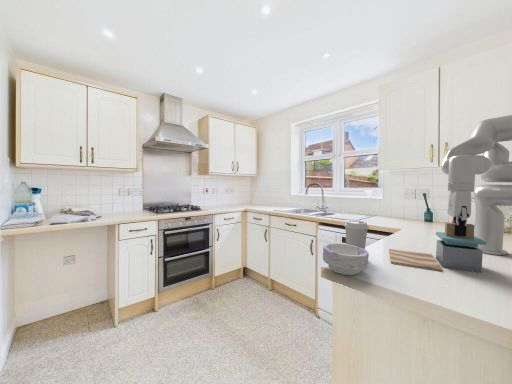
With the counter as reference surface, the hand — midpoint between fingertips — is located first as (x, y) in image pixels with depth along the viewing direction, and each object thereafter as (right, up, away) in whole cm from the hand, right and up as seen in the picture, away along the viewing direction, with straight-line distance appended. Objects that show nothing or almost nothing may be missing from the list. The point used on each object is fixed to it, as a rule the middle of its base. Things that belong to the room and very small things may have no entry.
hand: (458, 234), depth 87 cm
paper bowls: (-47, -12, -6) cm, 49 cm away
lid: (0, -3, 0) cm, 3 cm away
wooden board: (-14, -12, +6) cm, 19 cm away
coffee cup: (-36, -11, +9) cm, 39 cm away
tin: (-1, -12, 0) cm, 12 cm away
